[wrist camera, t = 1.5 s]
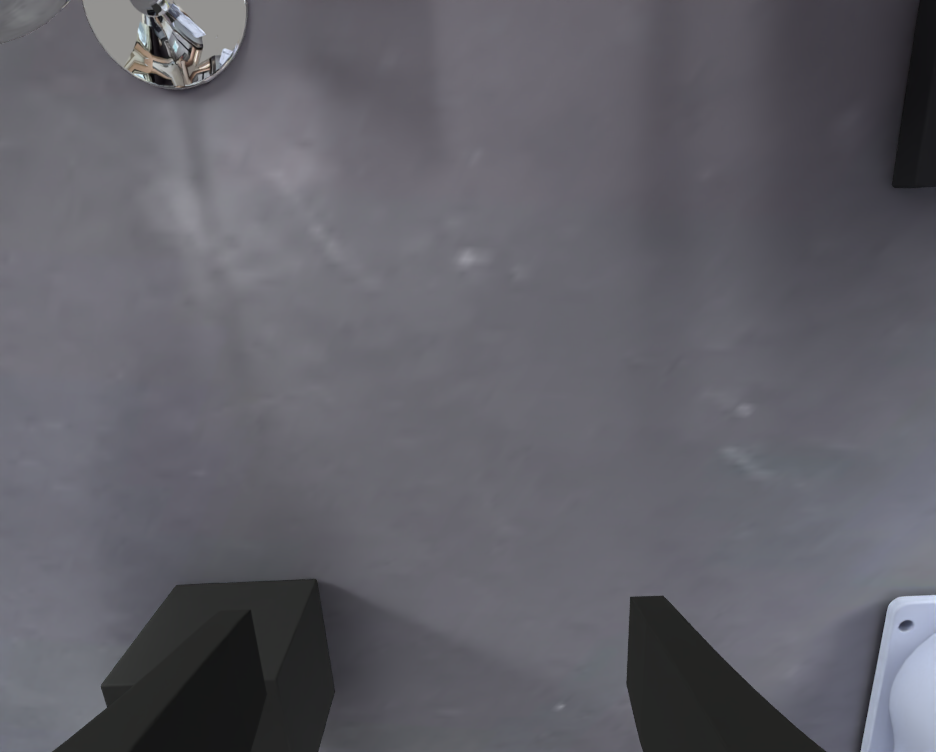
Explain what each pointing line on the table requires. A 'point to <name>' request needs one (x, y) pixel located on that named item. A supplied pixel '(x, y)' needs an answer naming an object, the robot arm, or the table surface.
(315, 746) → the black block
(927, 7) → the base pad
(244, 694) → the robot arm
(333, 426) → the table surface
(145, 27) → the wineglass
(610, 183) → the table surface
